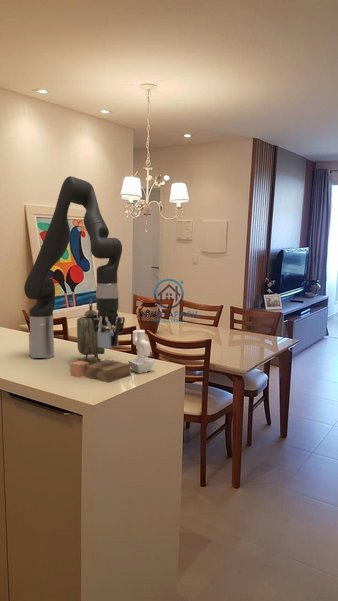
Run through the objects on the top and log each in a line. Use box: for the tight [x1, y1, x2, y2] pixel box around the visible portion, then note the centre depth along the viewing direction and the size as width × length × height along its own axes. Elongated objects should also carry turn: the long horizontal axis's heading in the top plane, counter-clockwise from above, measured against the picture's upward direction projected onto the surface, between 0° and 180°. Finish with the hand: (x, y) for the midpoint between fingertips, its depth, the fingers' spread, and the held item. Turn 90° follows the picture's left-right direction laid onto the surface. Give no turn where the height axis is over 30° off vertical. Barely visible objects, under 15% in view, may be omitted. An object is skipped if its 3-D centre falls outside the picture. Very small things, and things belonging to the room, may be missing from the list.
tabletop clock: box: [76, 298, 106, 362], centre depth 179 cm, size 14×9×25 cm, turn 16°
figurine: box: [127, 329, 156, 374], centre depth 165 cm, size 7×9×15 cm
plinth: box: [85, 359, 132, 383], centre depth 159 cm, size 11×11×4 cm
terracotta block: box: [69, 360, 90, 378], centre depth 160 cm, size 4×4×4 cm
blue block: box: [98, 330, 119, 350], centre depth 158 cm, size 5×5×5 cm
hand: (108, 345), depth 158 cm, fingers closed on blue block, 5 cm apart
